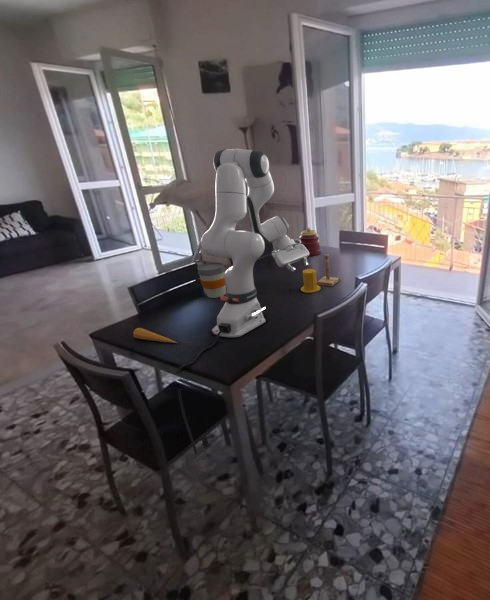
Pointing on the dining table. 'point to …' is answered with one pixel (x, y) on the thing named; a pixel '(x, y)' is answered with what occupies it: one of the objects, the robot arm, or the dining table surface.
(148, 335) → the carrot
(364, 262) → the dining table surface
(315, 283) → the hat
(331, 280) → the hat peg
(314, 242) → the kitchen canister
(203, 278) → the reusable coffee cup
